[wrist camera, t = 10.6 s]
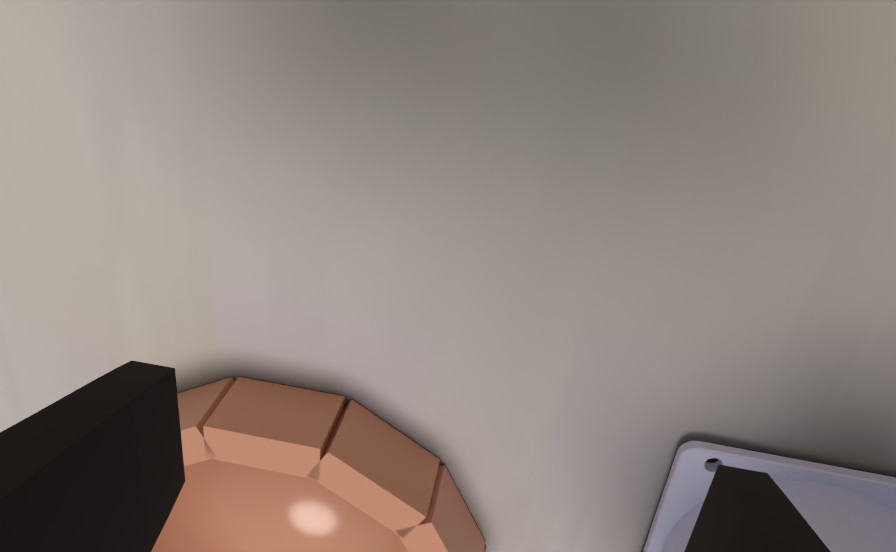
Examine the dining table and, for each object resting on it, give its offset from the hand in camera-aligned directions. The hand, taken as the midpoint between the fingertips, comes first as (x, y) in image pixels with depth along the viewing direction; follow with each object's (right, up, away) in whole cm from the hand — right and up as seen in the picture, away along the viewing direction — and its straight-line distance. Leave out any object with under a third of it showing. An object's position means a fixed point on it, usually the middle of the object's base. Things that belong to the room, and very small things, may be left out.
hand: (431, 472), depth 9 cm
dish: (-6, -7, +16) cm, 19 cm away
